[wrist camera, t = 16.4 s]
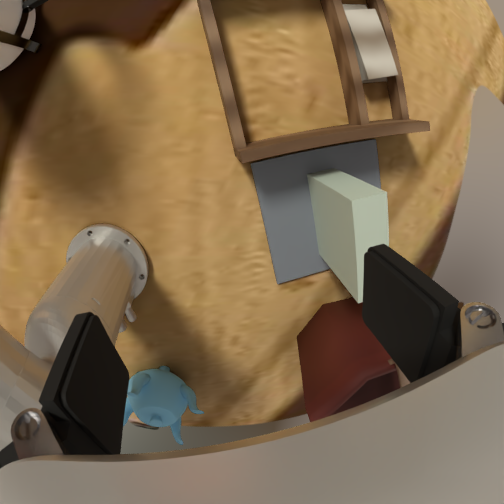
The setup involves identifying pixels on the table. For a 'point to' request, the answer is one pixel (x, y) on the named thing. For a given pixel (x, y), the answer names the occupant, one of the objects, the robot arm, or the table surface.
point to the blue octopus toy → (159, 399)
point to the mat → (304, 201)
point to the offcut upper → (370, 44)
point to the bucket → (343, 361)
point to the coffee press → (17, 29)
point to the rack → (350, 84)
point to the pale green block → (347, 223)
